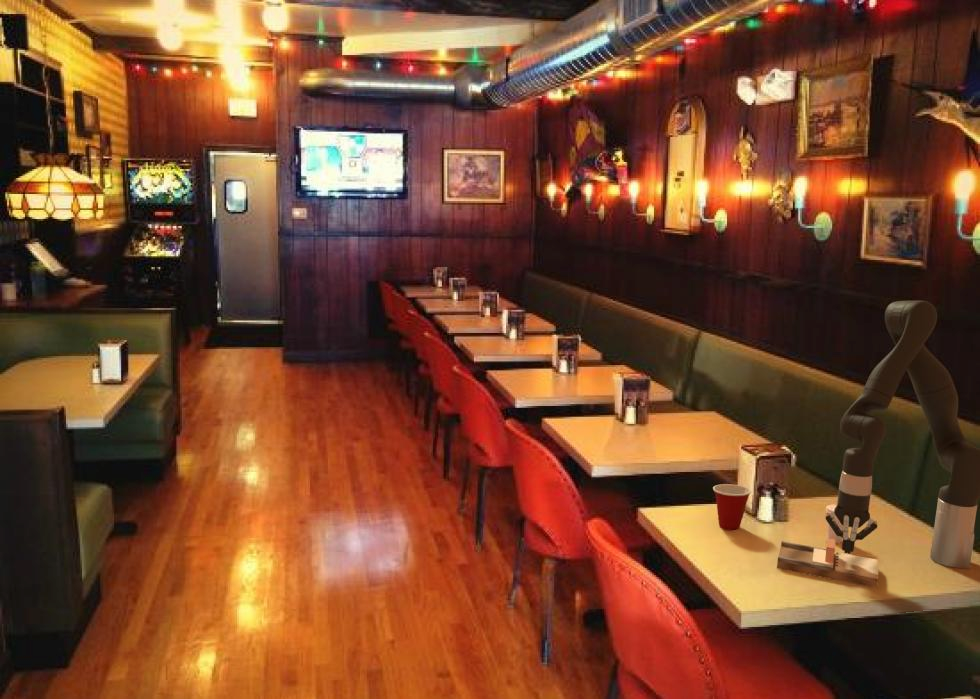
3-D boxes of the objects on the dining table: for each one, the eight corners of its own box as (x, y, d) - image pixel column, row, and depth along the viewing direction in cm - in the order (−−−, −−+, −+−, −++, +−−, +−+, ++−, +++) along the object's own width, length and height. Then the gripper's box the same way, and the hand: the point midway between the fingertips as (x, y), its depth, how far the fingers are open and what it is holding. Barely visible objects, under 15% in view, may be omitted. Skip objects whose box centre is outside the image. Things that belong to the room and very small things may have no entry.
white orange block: (833, 555, 221) (835, 537, 220) (832, 568, 213) (834, 550, 212) (813, 551, 223) (815, 534, 222) (812, 564, 215) (814, 546, 214)
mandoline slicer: (875, 568, 219) (877, 557, 218) (876, 587, 208) (878, 576, 208) (780, 550, 228) (781, 540, 228) (776, 568, 217) (777, 557, 217)
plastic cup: (731, 517, 251) (735, 479, 249) (755, 531, 241) (759, 492, 239) (702, 521, 247) (705, 483, 245) (725, 536, 237) (728, 496, 235)
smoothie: (843, 547, 232) (848, 499, 230) (819, 540, 236) (824, 494, 233) (849, 539, 237) (854, 493, 235) (826, 533, 241) (831, 488, 238)
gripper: (882, 489, 213) (874, 552, 216) (827, 480, 218) (820, 542, 221) (883, 498, 206) (875, 563, 209) (827, 489, 211) (819, 552, 214)
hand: (847, 552), depth 215 cm, fingers closed
